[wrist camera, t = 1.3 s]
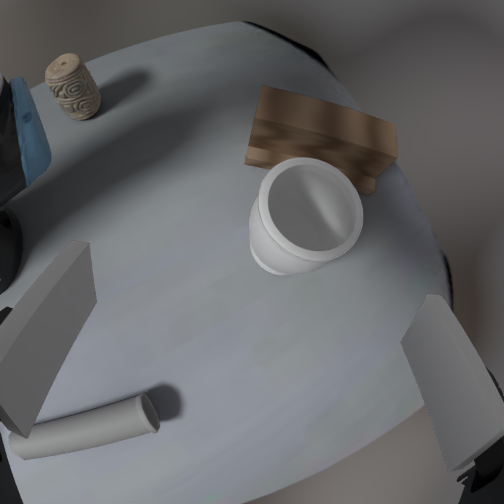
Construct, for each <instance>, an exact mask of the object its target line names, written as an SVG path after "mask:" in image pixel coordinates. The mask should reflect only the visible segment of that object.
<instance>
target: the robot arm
mask: <svg viewBox="0 0 504 504" xmlns="http://www.w3.org/2000/svg"><path fill="white" fill-rule="evenodd" d="M50 162H51V150H50V146H49V143H48V140H47V137H46V134H45V131H44V128H43V125H42V122H41V120H40V117H39V114H38V111H37V109H36V106H35V103H34V100H33V98H32V95H31V93H30V90H29V88H28V86H27V83H26V82H25V81H24V78H23V77H17V78H15V79H11V81H10V82H9V83H7V81H6V80H5V78H4V76H3V75H2V74H1V72H0V294H1V293H2V292H3V291H4V290H5V289H6V288H7V287H8V286H9V285H10V283H11V282H12V280H13V278H14V276H15V274H16V272H17V269H18V267H19V263H20V259H21V254H22V232H21V228H20V225H19V222H18V220H17V218H16V216H15V215H14V214H13V213H12V212H11V211H10V210H9V209H7V208H6V207H4V206H3V205H4V204H5V203H7V202H8V201H9V200H10V199H12V198H13V197H14V196H16V195H17V194H18V193H20V192H21V191H22V190H24V189H25V188H26V187H29V186H30V184H31V183H32V182H33V181H34V180H35V179H36V178H38V177H39V176H40V175H41V174H42V173H44V172H45V171H46V170H47V168H48V167H49V165H50ZM96 303H97V299H96V292H95V285H94V278H93V271H92V262H91V253H90V243H86V242H80V241H74V240H72V241H71V242H70V243H69V244H68V245H67V246H66V247H65V248H64V250H63V251H62V252H61V253H60V254H59V255H58V256H57V257H56V258H55V259H54V261H53V262H52V263H51V264H50V265H49V266H48V267H47V268H46V270H45V271H44V272H43V273H42V274H41V275H40V277H39V278H38V279H37V280H36V281H35V282H34V284H33V285H32V286H31V287H30V288H29V290H28V291H27V292H26V293H25V295H24V296H23V297H22V298H21V299H20V301H19V302H18V303H17V305H16V306H15V307H14V308H10V307H6V308H4V309H3V310H1V311H0V421H1V422H2V423H3V424H4V425H5V426H6V428H7V429H8V430H10V431H12V432H14V433H16V434H18V435H20V436H22V437H24V438H26V439H28V437H29V435H30V432H31V430H32V427H33V425H34V423H35V421H36V418H37V416H38V414H39V412H40V409H41V407H42V405H43V403H44V401H45V399H46V396H47V394H48V392H49V390H50V388H51V386H52V384H53V382H54V380H55V378H56V376H57V374H58V372H59V370H60V368H61V366H62V364H63V362H64V360H65V358H66V356H67V354H68V353H69V351H70V349H71V347H72V345H73V343H74V341H75V340H76V338H77V336H78V334H79V332H80V331H81V329H82V327H83V325H84V323H85V322H86V320H87V318H88V316H89V315H90V313H91V311H92V310H93V308H94V306H95V304H96ZM401 345H402V347H403V349H404V352H405V354H406V357H407V359H408V361H409V364H410V366H411V369H412V371H413V374H414V376H415V379H416V381H417V384H418V386H419V389H420V392H421V394H422V397H423V400H424V402H425V405H426V408H427V410H428V413H429V416H430V419H431V421H432V425H433V427H434V430H435V433H436V436H437V439H438V442H439V445H440V449H441V452H442V455H443V458H444V462H445V465H446V468H447V472H448V473H449V472H452V471H455V470H459V469H462V468H464V467H465V466H466V465H468V464H469V463H470V462H472V461H473V460H474V462H475V465H474V466H473V467H472V468H470V469H469V470H467V471H466V472H465V473H463V474H462V475H461V476H459V477H458V479H457V482H459V481H461V480H462V479H463V478H465V477H467V476H468V478H467V479H465V480H464V481H463V482H462V484H463V485H465V487H464V490H463V493H462V496H461V498H460V501H459V503H458V504H504V396H503V393H502V391H501V389H500V388H499V387H498V386H499V385H498V383H497V381H496V379H495V378H494V376H493V374H492V373H491V372H490V371H489V370H488V369H487V368H486V366H484V364H483V362H482V360H481V358H480V357H479V355H478V354H477V352H476V350H475V348H474V346H473V345H472V343H471V342H470V340H469V338H468V336H467V335H466V333H465V331H464V330H463V328H462V326H461V325H460V323H459V322H458V320H457V319H456V317H455V315H454V314H453V312H452V311H451V309H450V308H449V306H448V305H447V303H446V302H445V300H444V299H443V297H442V296H441V295H434V294H428V295H427V297H426V298H425V300H424V302H423V304H422V306H421V308H420V310H419V311H418V313H417V315H416V317H415V319H414V320H413V322H412V324H411V326H410V327H409V329H408V331H407V332H406V334H405V336H404V337H403V339H402V341H401ZM0 504H23V502H22V499H21V496H20V494H19V491H18V489H17V486H16V483H15V480H14V477H13V474H12V471H11V468H10V465H9V462H8V459H7V455H6V452H5V448H4V444H3V441H2V437H1V433H0Z"/></svg>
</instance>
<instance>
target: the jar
mask: <svg viewBox="0 0 504 504" xmlns="http://www.w3.org/2000/svg"><path fill="white" fill-rule="evenodd" d="M362 226H363V208H362V203H361V200H360V197H359V195H358V193H357V191H356V189H355V187H354V186H353V184H352V183H351V182H350V180H349V179H348V178H347V177H346V176H345V175H344V174H343V173H342V172H341V171H339V170H338V169H337V168H335V167H334V166H332V165H330V164H328V163H326V162H323V161H321V160H317V159H313V158H304V157H302V158H292V159H288V160H285V161H283V162H281V163H279V164H277V165H276V166H274V167H273V168H272V169H271V170H270V171H269V172H268V173H267V174H266V176H265V177H264V179H263V181H262V183H261V185H260V188H259V192H258V197H257V199H256V200H255V202H254V205H253V207H252V210H251V214H250V219H249V233H250V249H251V252H252V255H253V257H254V259H255V260H256V262H257V263H258V264H259V265H260V266H261V267H262V268H263V269H265V270H266V271H268V272H270V273H273V274H276V275H289V274H302V273H308V272H311V271H314V270H317V269H319V268H321V267H323V266H325V265H326V264H328V263H329V262H330V261H332V260H334V259H336V258H338V257H340V256H342V255H343V254H345V253H346V252H347V251H348V250H349V249H350V248H351V247H352V246H353V245H354V244H355V243H356V241H357V239H358V238H359V235H360V233H361V230H362Z"/></svg>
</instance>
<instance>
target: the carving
mask: <svg viewBox="0 0 504 504" xmlns="http://www.w3.org/2000/svg"><path fill="white" fill-rule="evenodd" d="M45 76H46V77H45V79H46V82H47V85H48V87H49V89H50V90H51V92H52V94H53V96H54V97H55V99H56V101H57V103H58V104H59V106H60V107H61V108H62V110H63V111H64V112H65V113H66V114H67V115H68V116H69V117H70V118H71V119H74V120H85V119H88V118H90V117H91V116H93V115H94V114H95V113H96V112H97V111H98V109H99V107H100V104H101V95H100V93H99V89H98V87H97V85H96V83H95V81H94V80H93V78H92V76H91V74H90V72H89V71H88V69H87V68H86V66H85V64H84V62H83V60H82V59H81V57H80V56H79V55H77V54H74V53H68V54H64V55H62V56H60V57H58V58H57V59H56V60H55V61H53V62H52V63H51V64H50V65H49V66H48V68H47V70H46V73H45Z"/></svg>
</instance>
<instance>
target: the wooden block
mask: <svg viewBox="0 0 504 504" xmlns="http://www.w3.org/2000/svg"><path fill="white" fill-rule="evenodd" d="M302 157H304V158H313V159H317V160H321V161H323V162H326V163H328V164H330V165H332V166H334V167H335V168H337V169H338V170H339V171H341V172H342V173H343V174H344V175H345V176H346V177H347V178H348V179H349V180H350V182H351V183H352V184H353V186H354V187H355V189H356V191H357V192H361V193H364V194H368V195H370V194H371V193H373V192H374V191H375V179H376V178H377V177H378V176H379V175H380V174H381V173H382V172H383V171H384V170H385V169H386V168H387V167H389V166H390V165H391V164H392V163H393V162H394V161H395V160H396V159H397V157H398V156H397V141H396V128H395V124H392V123H389V122H387V121H384V120H381V119H379V118H376V117H373V116H370V115H367V114H364V113H361V112H358V111H355V110H352V109H349V108H346V107H343V106H340V105H337V104H333V103H330V102H327V101H323V100H320V99H316V98H312V97H309V96H305V95H301V94H297V93H293V92H289V91H285V90H281V89H276V88H272V87H267V86H263V85H262V88H261V92H260V96H259V100H258V105H257V109H256V113H255V118H254V122H253V127H252V131H251V136H250V140H249V145H248V149H247V154H246V159H245V163H244V164H246V165H250V166H255V167H260V168H265V169H269V170H271V169H272V168H273V167H274V166H276V165H277V164H279V163H281V162H283V161H285V160H288V159H292V158H302Z"/></svg>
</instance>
